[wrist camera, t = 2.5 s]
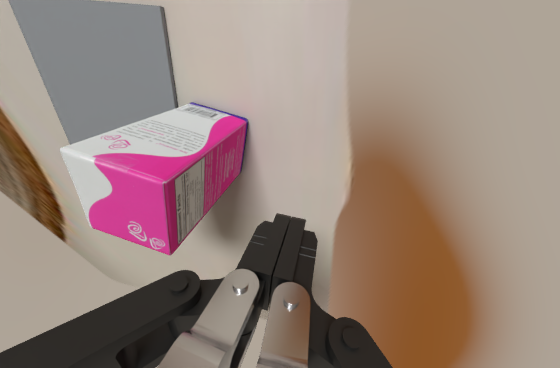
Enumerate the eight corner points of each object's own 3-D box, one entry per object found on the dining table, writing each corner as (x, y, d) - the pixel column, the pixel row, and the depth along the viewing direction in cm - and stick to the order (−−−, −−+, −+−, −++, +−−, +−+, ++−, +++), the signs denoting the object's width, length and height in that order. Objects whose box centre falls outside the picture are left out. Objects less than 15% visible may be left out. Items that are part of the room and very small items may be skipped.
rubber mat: (92, 187, 29) (89, 189, 29) (11, -6, 19) (5, -7, 19) (192, 211, 27) (191, 213, 27) (163, 7, 17) (159, 6, 16)
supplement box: (191, 157, 23) (84, 228, 13) (191, 100, 20) (52, 140, 10) (242, 174, 23) (169, 260, 13) (250, 118, 19) (162, 177, 10)
